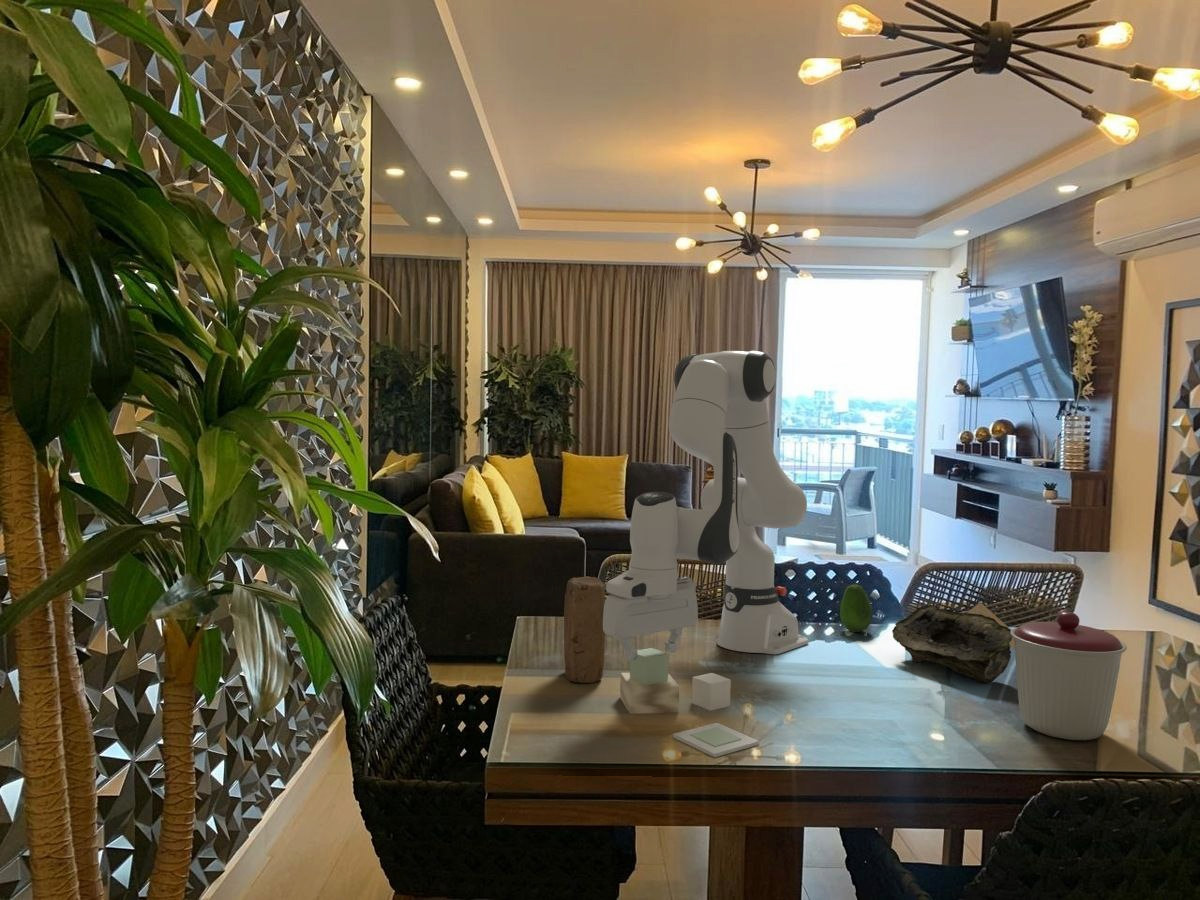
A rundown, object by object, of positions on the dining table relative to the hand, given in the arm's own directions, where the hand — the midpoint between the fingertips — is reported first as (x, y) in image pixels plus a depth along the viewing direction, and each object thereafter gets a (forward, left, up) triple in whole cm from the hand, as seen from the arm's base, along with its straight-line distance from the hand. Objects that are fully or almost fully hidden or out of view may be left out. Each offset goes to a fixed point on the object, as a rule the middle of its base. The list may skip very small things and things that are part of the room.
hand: (651, 655), depth 165 cm
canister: (-54, +49, -9) cm, 73 cm away
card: (+2, +20, -9) cm, 22 cm away
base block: (0, 0, -9) cm, 9 cm away
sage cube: (0, 0, -4) cm, 4 cm away
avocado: (-79, -15, -9) cm, 81 cm away
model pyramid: (-98, +6, -10) cm, 99 cm away
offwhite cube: (-10, +6, -9) cm, 15 cm away
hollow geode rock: (-69, +18, -10) cm, 72 cm away
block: (+1, -20, -9) cm, 22 cm away
